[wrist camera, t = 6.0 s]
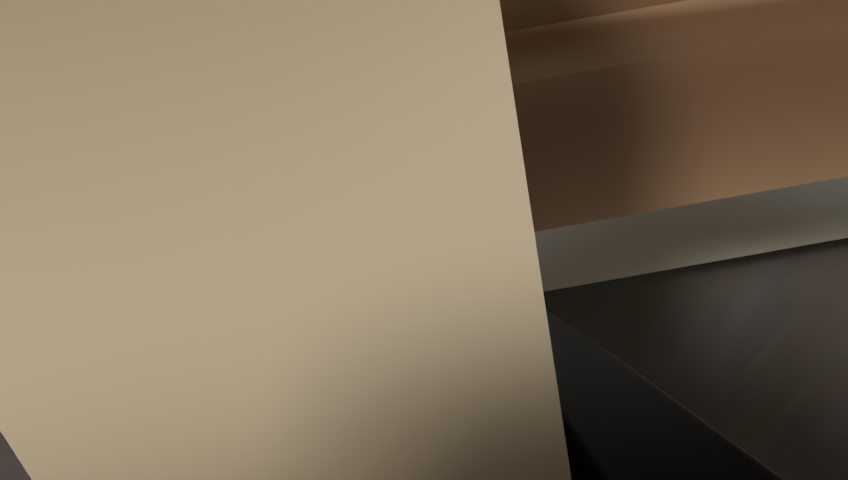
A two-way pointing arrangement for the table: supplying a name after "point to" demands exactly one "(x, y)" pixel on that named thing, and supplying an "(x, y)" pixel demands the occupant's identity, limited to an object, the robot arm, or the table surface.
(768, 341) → the table surface
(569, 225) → the ridge stand
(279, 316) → the light wooden block
